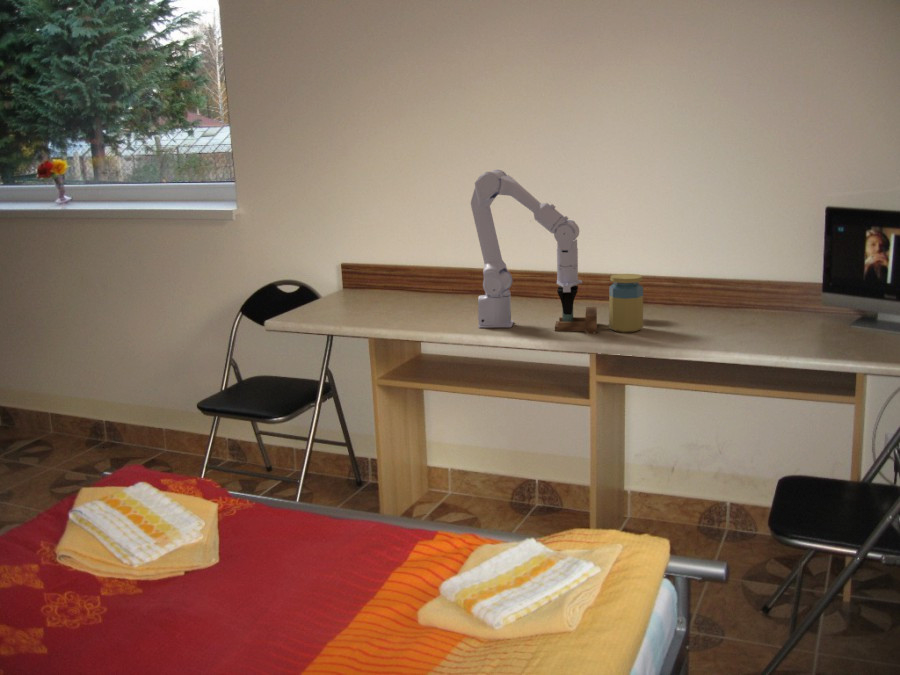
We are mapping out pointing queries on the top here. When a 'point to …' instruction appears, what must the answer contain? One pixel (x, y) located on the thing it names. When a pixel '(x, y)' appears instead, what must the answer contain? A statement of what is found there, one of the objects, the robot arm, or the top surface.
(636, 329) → the jar
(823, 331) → the top surface
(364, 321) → the top surface
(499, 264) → the robot arm
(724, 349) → the top surface
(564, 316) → the peg
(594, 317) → the cradle
